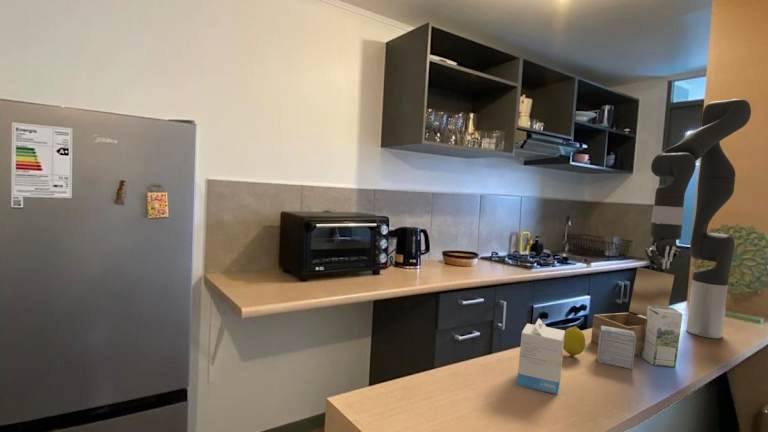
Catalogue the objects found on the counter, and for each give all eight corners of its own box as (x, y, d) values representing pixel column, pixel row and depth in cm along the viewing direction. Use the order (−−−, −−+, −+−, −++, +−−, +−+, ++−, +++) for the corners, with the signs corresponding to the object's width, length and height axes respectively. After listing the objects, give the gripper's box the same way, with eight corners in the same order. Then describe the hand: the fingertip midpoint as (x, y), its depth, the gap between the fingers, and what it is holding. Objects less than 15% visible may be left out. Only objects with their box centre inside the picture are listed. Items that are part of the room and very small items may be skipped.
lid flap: (628, 311, 127) (630, 311, 127) (663, 322, 117) (665, 322, 117) (637, 267, 126) (639, 267, 127) (672, 274, 116) (674, 275, 117)
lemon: (557, 355, 109) (560, 325, 109) (565, 350, 113) (567, 321, 113) (579, 362, 106) (582, 331, 105) (586, 357, 110) (589, 327, 109)
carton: (625, 338, 127) (627, 312, 127) (660, 352, 117) (663, 324, 117) (590, 341, 122) (593, 314, 122) (624, 356, 112) (628, 327, 111)
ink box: (557, 395, 87) (564, 333, 86) (516, 384, 91) (521, 324, 90) (560, 380, 95) (566, 322, 94) (522, 370, 99) (527, 315, 98)
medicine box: (630, 363, 107) (634, 330, 107) (633, 370, 103) (636, 336, 103) (596, 356, 111) (599, 324, 110) (597, 362, 107) (600, 329, 106)
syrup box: (663, 359, 112) (669, 306, 111) (676, 368, 106) (683, 312, 105) (641, 356, 113) (647, 304, 112) (653, 366, 107) (659, 310, 106)
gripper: (669, 221, 127) (662, 277, 129) (638, 220, 123) (632, 278, 124) (695, 224, 120) (688, 283, 122) (664, 222, 116) (657, 284, 117)
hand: (660, 280), depth 123 cm, fingers closed
